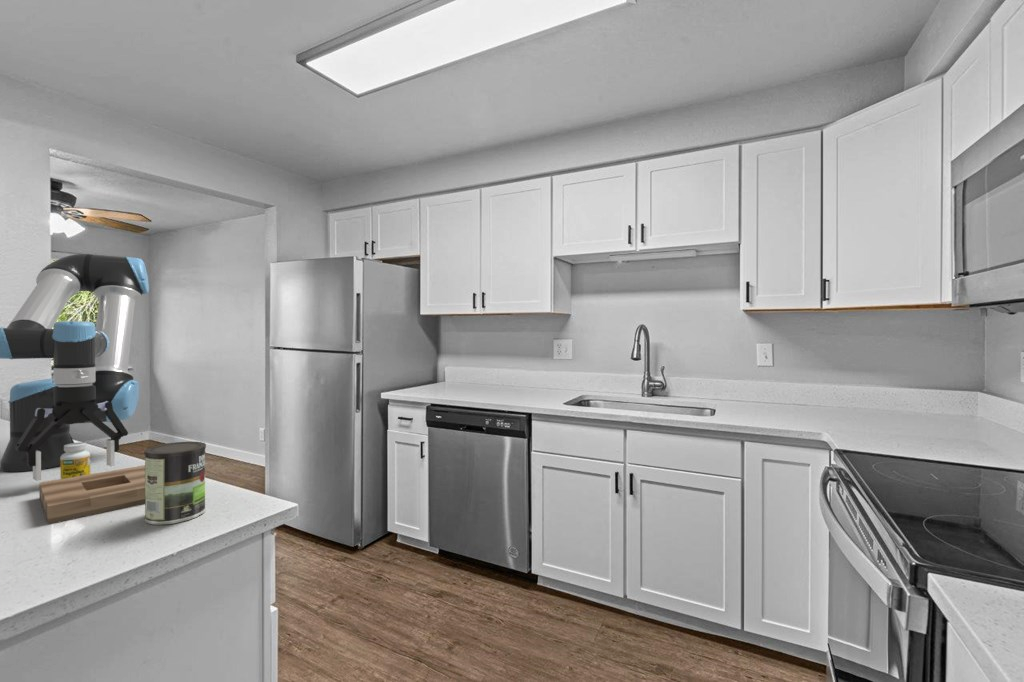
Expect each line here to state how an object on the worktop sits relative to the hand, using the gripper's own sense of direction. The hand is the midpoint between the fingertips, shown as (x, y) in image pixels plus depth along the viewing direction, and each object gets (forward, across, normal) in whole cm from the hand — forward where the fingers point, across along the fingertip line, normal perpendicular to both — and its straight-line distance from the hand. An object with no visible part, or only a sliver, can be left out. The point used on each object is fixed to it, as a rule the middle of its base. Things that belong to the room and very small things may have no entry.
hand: (75, 472), depth 115 cm
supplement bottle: (+3, 0, 0) cm, 3 cm away
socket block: (+3, 0, -18) cm, 18 cm away
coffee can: (+3, +4, -41) cm, 41 cm away
